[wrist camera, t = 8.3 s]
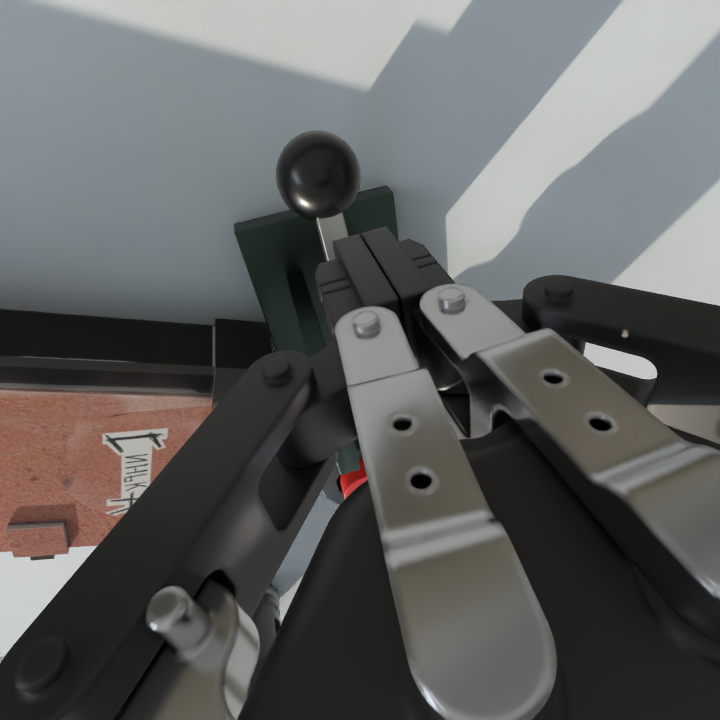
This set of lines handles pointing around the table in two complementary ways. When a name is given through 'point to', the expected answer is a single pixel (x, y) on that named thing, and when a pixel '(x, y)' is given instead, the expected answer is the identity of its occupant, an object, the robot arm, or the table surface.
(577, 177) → the table surface
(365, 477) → the button
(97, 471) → the book
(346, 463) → the switch bracket
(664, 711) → the robot arm
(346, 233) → the switch lever
